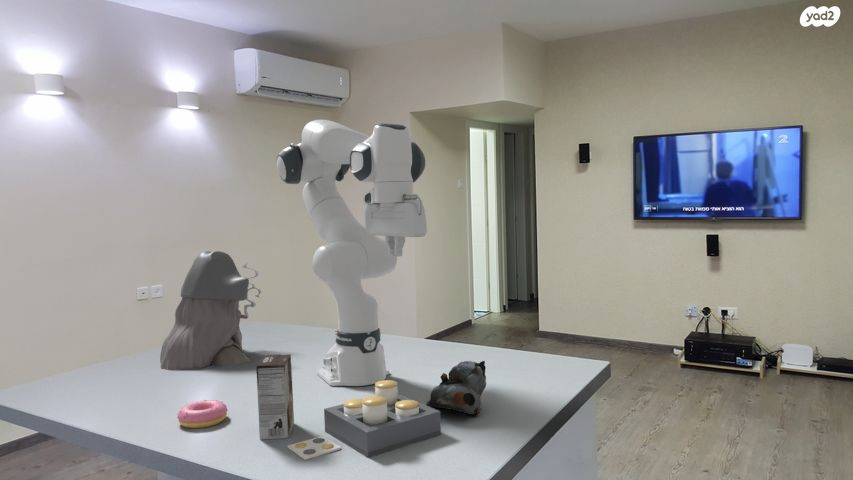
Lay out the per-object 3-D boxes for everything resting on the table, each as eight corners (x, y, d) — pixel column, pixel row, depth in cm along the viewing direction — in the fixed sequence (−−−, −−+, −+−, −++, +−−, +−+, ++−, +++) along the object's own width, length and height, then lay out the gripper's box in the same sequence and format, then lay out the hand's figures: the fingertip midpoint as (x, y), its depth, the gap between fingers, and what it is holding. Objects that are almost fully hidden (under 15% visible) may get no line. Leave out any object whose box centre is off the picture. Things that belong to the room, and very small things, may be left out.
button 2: (358, 423, 127) (357, 399, 126) (379, 417, 129) (378, 394, 129) (371, 430, 123) (370, 405, 122) (392, 424, 125) (391, 400, 125)
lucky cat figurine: (420, 405, 149) (437, 350, 153) (466, 421, 150) (482, 366, 154) (434, 406, 135) (453, 346, 139) (485, 424, 136) (502, 363, 140)
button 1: (340, 425, 133) (339, 402, 133) (360, 419, 136) (359, 397, 136) (351, 431, 129) (351, 408, 129) (372, 425, 132) (371, 403, 132)
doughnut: (227, 426, 139) (226, 408, 138) (175, 433, 136) (174, 415, 135) (228, 411, 149) (227, 394, 149) (180, 417, 146) (179, 400, 146)
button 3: (371, 405, 138) (370, 383, 137) (390, 400, 141) (389, 378, 140) (383, 410, 134) (382, 388, 133) (402, 405, 137) (401, 383, 136)
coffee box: (266, 424, 139) (262, 354, 138) (294, 423, 139) (291, 353, 138) (258, 440, 130) (254, 365, 129) (289, 438, 130) (286, 363, 129)
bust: (283, 350, 209) (278, 248, 207) (199, 376, 181) (193, 257, 178) (217, 341, 227) (212, 247, 225) (131, 363, 198) (125, 255, 196)
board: (324, 431, 134) (324, 408, 133) (393, 412, 144) (393, 391, 144) (367, 457, 119) (366, 432, 119) (440, 434, 130) (440, 411, 130)
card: (287, 447, 125) (287, 444, 125) (323, 437, 130) (322, 435, 130) (304, 460, 119) (304, 457, 119) (341, 449, 124) (341, 446, 124)
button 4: (391, 426, 131) (390, 403, 131) (410, 420, 134) (409, 398, 134) (404, 432, 127) (404, 409, 127) (424, 427, 130) (423, 404, 130)
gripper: (432, 193, 132) (434, 257, 133) (381, 196, 149) (383, 253, 150) (408, 194, 129) (410, 259, 129) (359, 196, 145) (361, 254, 146)
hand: (395, 256), depth 140 cm, fingers closed
